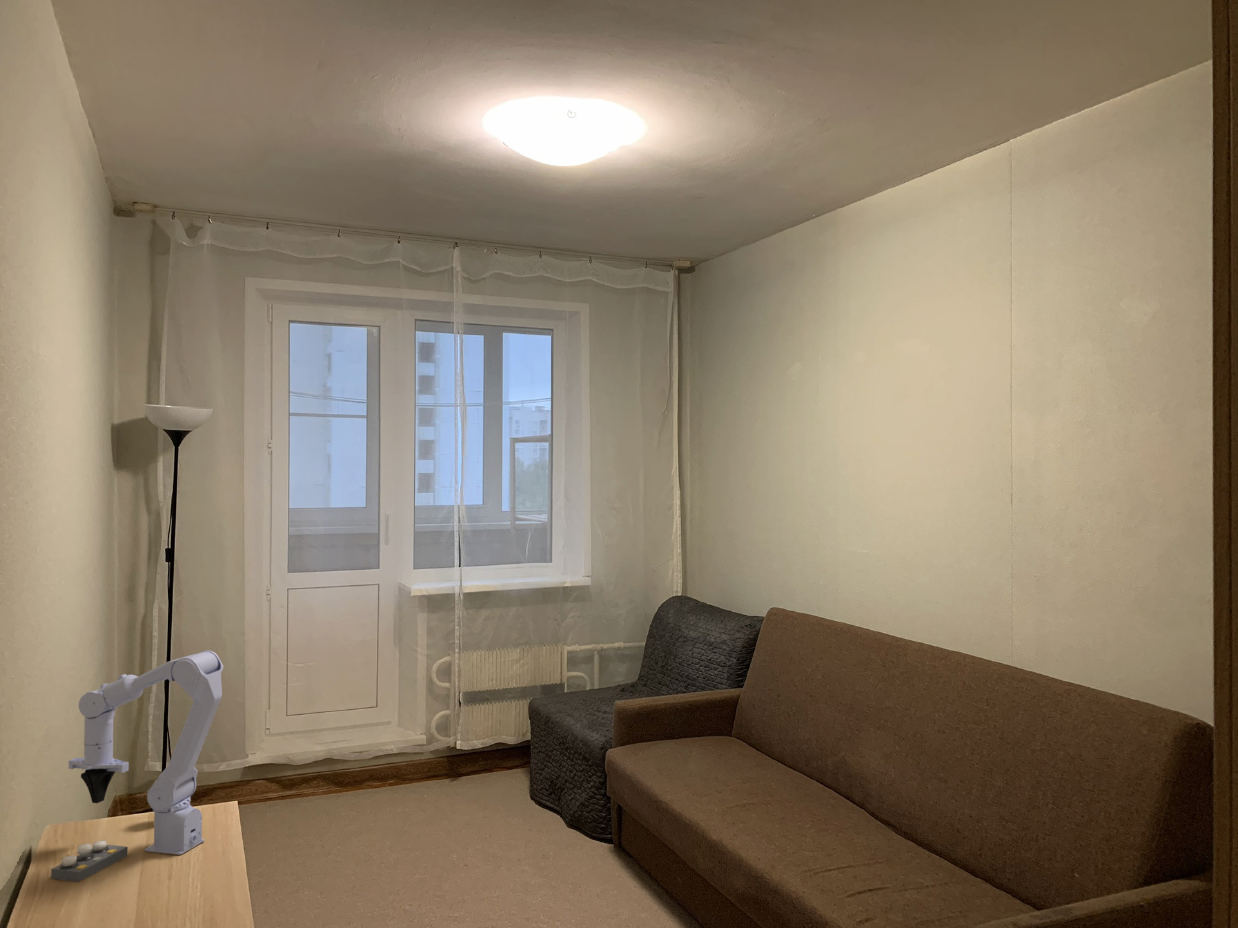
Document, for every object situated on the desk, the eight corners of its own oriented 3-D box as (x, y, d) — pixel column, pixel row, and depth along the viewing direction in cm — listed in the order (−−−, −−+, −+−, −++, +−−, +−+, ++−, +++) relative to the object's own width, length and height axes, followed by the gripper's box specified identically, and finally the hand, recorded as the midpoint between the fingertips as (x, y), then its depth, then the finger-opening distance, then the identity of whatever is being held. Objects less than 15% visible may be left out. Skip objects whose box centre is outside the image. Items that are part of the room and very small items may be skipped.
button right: (109, 846, 194) (109, 840, 194) (99, 851, 191) (99, 845, 191) (99, 845, 194) (99, 839, 194) (89, 850, 192) (89, 844, 192)
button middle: (94, 849, 190) (94, 844, 190) (84, 854, 187) (84, 849, 187) (84, 848, 190) (84, 843, 191) (74, 853, 188) (74, 848, 188)
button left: (79, 861, 186) (79, 855, 186) (69, 866, 183) (69, 861, 184) (69, 860, 187) (69, 854, 187) (58, 865, 184) (58, 860, 184)
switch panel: (127, 855, 195) (127, 845, 195) (79, 881, 182) (79, 871, 182) (100, 853, 196) (100, 843, 196) (51, 878, 184) (51, 867, 184)
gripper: (57, 745, 200) (57, 805, 200) (112, 749, 197) (111, 810, 196) (83, 736, 207) (82, 794, 206) (135, 740, 204) (135, 799, 203)
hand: (98, 801), depth 202 cm, fingers closed
